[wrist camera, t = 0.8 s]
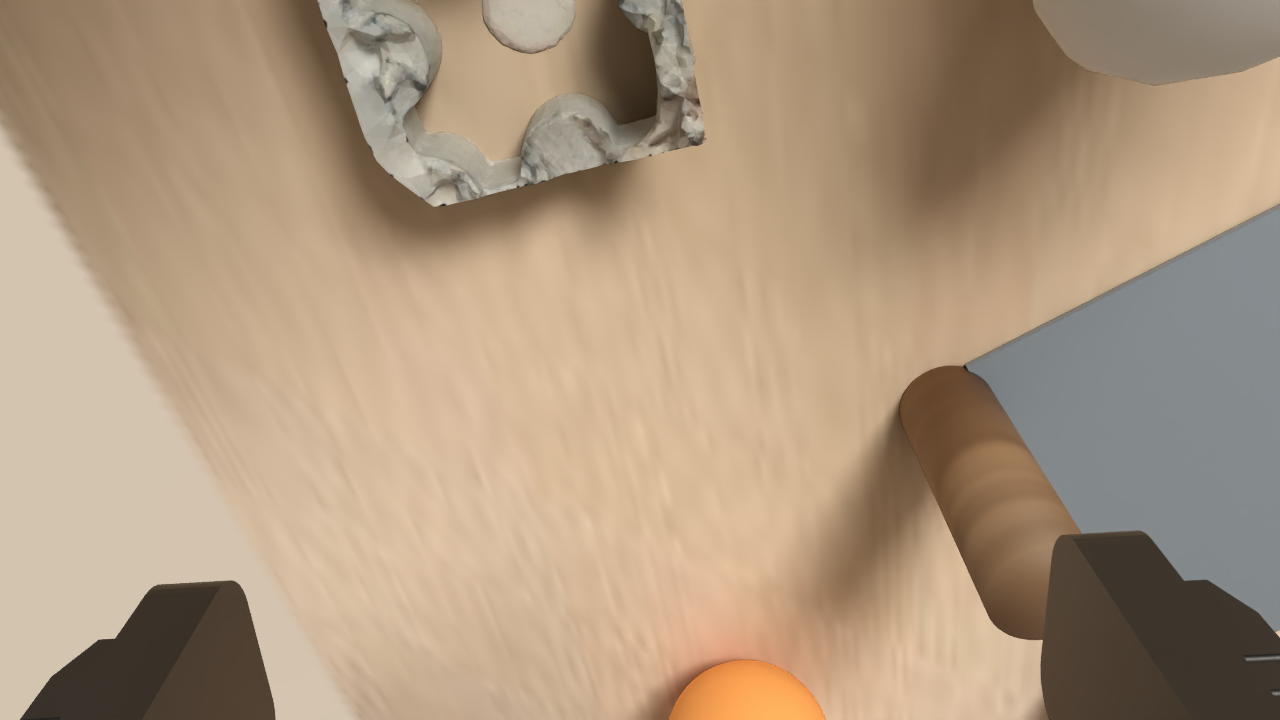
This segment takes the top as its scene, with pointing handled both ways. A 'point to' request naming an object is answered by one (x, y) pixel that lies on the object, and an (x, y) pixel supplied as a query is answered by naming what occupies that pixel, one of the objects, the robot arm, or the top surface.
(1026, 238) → the top surface
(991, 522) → the post
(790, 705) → the ball
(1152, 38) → the donut
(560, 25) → the egg carton
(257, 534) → the top surface
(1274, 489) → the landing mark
